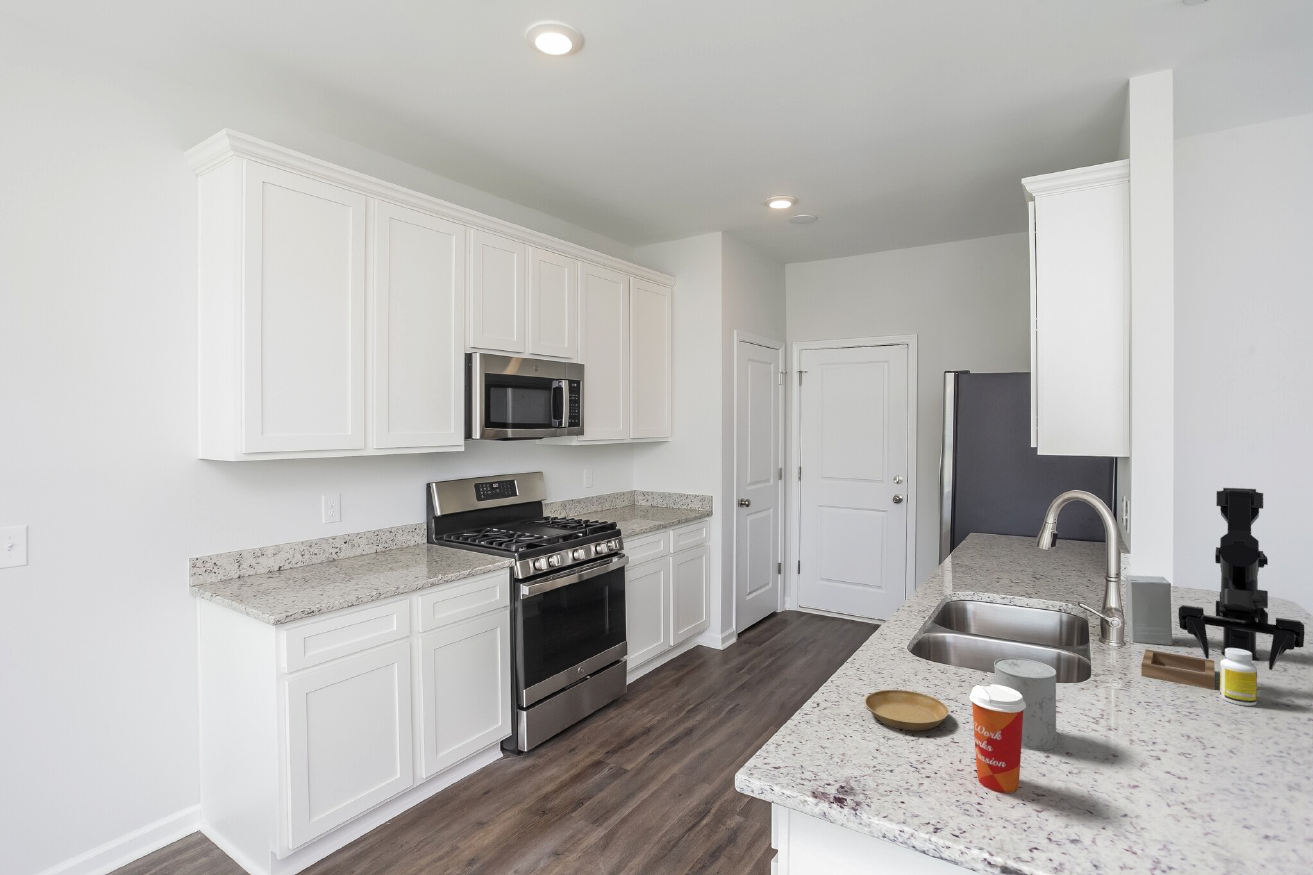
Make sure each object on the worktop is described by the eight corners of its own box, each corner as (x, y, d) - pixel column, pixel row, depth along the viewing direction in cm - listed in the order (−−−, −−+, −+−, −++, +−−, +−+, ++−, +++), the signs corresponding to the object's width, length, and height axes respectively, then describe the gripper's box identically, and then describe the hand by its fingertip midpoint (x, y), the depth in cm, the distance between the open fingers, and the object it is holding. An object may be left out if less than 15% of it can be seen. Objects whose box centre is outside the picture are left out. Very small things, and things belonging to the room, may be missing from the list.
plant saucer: (849, 717, 125) (849, 703, 124) (890, 695, 134) (890, 682, 134) (923, 745, 113) (923, 730, 113) (963, 719, 123) (963, 705, 123)
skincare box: (1165, 638, 165) (1164, 575, 164) (1173, 647, 158) (1173, 582, 158) (1124, 634, 168) (1124, 573, 168) (1131, 643, 162) (1130, 579, 161)
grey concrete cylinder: (1049, 728, 118) (1049, 660, 118) (1063, 753, 109) (1062, 680, 109) (990, 721, 121) (990, 655, 121) (999, 745, 112) (998, 674, 112)
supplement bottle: (1264, 707, 125) (1264, 656, 125) (1231, 705, 126) (1231, 655, 126) (1244, 696, 130) (1244, 647, 130) (1213, 694, 131) (1213, 645, 131)
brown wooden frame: (1145, 659, 150) (1145, 649, 150) (1214, 672, 143) (1214, 660, 143) (1141, 675, 141) (1141, 664, 141) (1214, 689, 133) (1214, 677, 133)
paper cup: (960, 771, 104) (959, 683, 104) (1006, 768, 105) (1005, 681, 105) (989, 799, 96) (988, 704, 96) (1038, 795, 97) (1038, 701, 97)
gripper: (1179, 566, 138) (1174, 631, 130) (1303, 579, 125) (1307, 652, 117) (1182, 596, 144) (1177, 660, 136) (1301, 611, 131) (1304, 682, 123)
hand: (1238, 663), depth 128 cm, fingers open, 9 cm apart
